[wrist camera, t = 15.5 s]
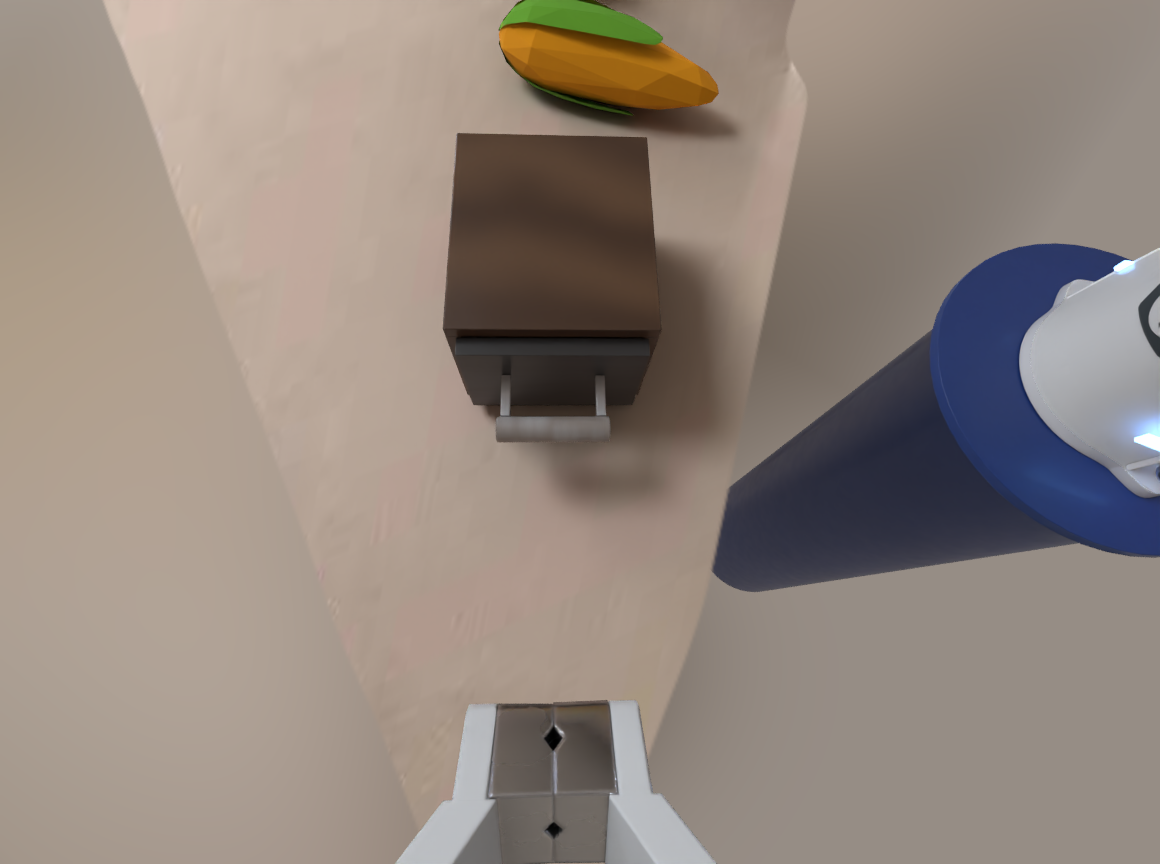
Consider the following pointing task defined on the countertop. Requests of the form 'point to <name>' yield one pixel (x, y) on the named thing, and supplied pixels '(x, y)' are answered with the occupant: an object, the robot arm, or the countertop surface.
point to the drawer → (552, 381)
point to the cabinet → (551, 239)
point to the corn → (599, 57)
